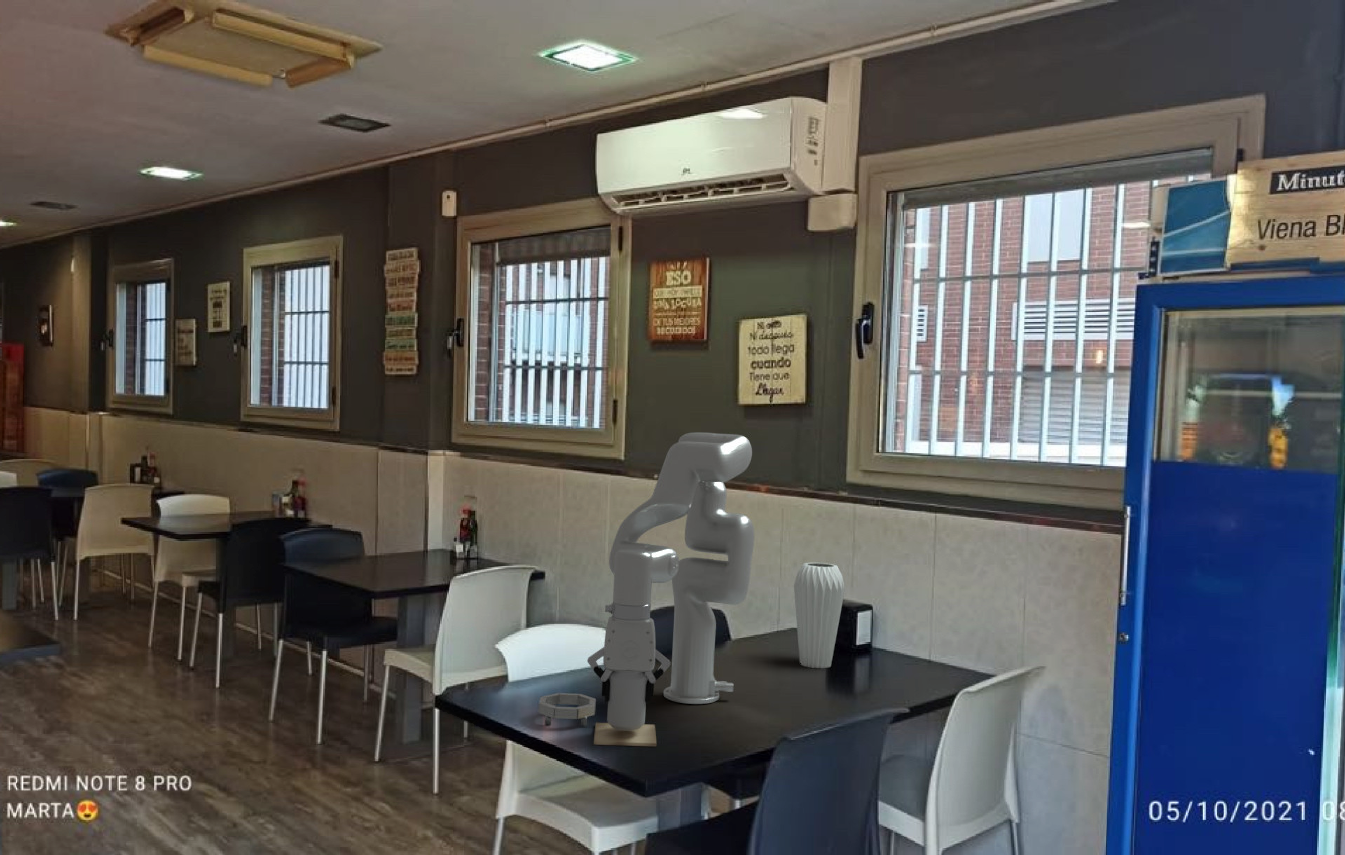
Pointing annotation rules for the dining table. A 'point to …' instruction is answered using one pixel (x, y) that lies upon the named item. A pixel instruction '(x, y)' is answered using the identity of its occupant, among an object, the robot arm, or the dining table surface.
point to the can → (627, 699)
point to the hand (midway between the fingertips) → (627, 700)
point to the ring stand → (553, 711)
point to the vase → (818, 612)
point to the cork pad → (624, 735)
